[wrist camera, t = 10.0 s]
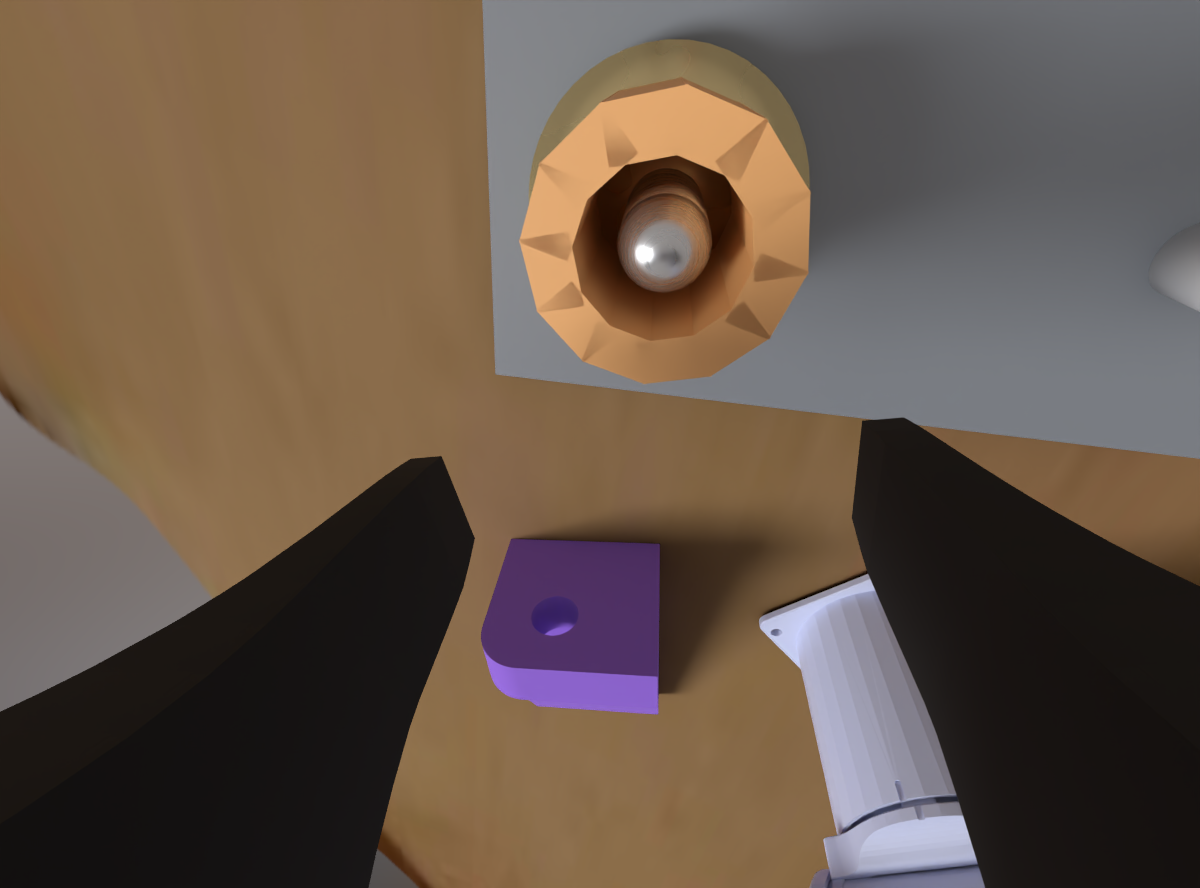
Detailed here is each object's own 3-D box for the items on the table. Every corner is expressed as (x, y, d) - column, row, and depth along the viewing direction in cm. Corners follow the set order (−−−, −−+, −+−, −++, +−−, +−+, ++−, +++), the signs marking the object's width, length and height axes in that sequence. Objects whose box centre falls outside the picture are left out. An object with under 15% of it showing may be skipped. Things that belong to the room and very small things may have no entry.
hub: (851, 222, 15) (923, 286, 11) (642, 367, 18) (634, 461, 14) (698, -43, 12) (715, -97, 8) (483, 183, 15) (412, 229, 11)
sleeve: (814, 135, 13) (872, 164, 9) (712, 333, 16) (725, 414, 12) (600, 40, 12) (572, 32, 9) (536, 265, 15) (495, 329, 12)
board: (1561, -10, 12) (2010, -44, 8) (1185, 435, 19) (1325, 537, 15) (496, -103, 13) (418, -176, 9) (506, 355, 20) (464, 430, 16)
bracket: (513, 533, 26) (469, 665, 20) (660, 538, 25) (657, 676, 19) (542, 681, 33) (516, 809, 27) (658, 688, 32) (656, 822, 26)
